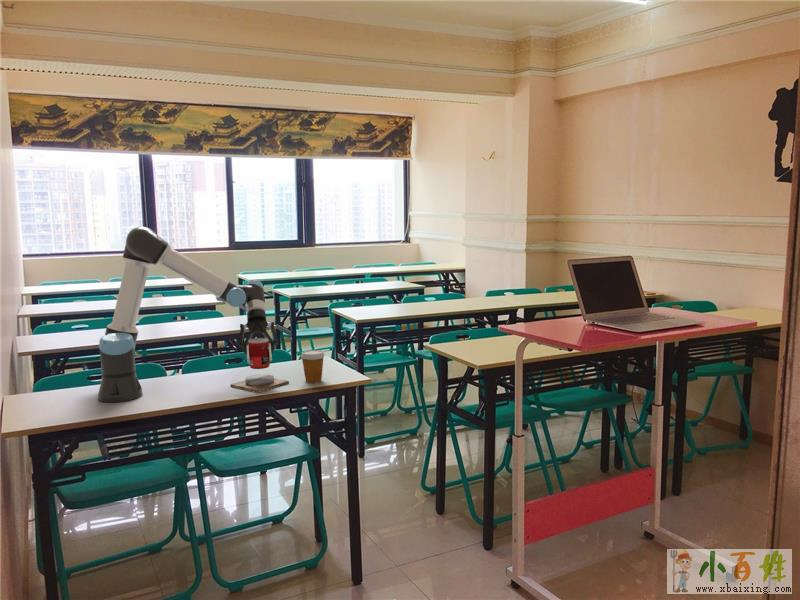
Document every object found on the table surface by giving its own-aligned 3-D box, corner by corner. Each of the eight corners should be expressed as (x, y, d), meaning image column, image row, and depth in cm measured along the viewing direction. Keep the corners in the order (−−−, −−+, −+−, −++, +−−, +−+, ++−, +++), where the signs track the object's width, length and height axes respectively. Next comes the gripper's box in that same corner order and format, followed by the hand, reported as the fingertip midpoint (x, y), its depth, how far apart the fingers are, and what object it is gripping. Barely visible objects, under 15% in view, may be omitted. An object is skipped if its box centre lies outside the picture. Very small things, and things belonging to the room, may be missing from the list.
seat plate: (230, 386, 247) (230, 379, 247) (261, 378, 260) (261, 370, 260) (258, 392, 238) (257, 385, 238) (288, 383, 251) (288, 376, 250)
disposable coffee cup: (323, 384, 249) (322, 354, 247) (299, 384, 249) (298, 354, 248) (326, 378, 258) (326, 349, 257) (303, 378, 259) (302, 349, 257)
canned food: (265, 369, 244) (264, 341, 242) (246, 369, 245) (244, 341, 244) (272, 364, 251) (271, 337, 250) (253, 364, 253) (252, 337, 251)
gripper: (281, 317, 263) (286, 363, 250) (230, 320, 258) (232, 367, 245) (282, 306, 257) (286, 352, 244) (229, 309, 252) (231, 356, 239)
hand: (259, 359), depth 245 cm, fingers closed on canned food, 8 cm apart
